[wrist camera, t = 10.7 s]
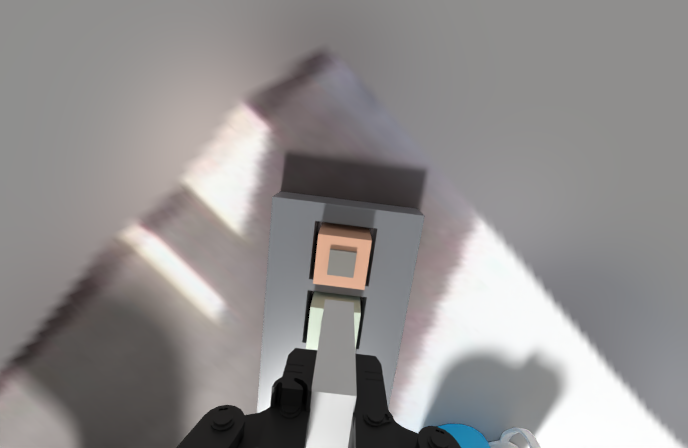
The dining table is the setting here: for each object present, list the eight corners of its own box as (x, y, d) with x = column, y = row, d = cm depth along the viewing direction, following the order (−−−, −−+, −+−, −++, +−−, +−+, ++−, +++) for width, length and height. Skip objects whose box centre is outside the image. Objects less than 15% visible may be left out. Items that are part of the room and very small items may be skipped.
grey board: (261, 433, 35) (253, 459, 32) (280, 191, 28) (272, 196, 25) (373, 446, 35) (375, 474, 32) (417, 208, 28) (424, 215, 26)
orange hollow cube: (317, 266, 29) (312, 285, 25) (322, 222, 28) (317, 235, 24) (362, 271, 29) (364, 291, 25) (369, 228, 28) (372, 241, 24)
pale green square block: (310, 326, 30) (304, 353, 26) (315, 286, 29) (309, 308, 25) (353, 331, 30) (354, 359, 26) (359, 292, 29) (361, 315, 25)
